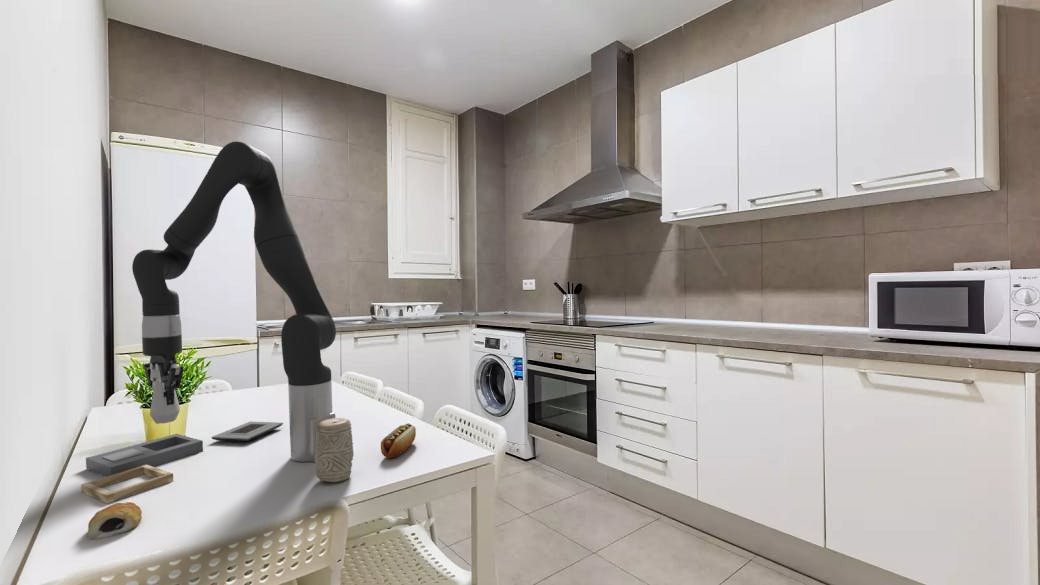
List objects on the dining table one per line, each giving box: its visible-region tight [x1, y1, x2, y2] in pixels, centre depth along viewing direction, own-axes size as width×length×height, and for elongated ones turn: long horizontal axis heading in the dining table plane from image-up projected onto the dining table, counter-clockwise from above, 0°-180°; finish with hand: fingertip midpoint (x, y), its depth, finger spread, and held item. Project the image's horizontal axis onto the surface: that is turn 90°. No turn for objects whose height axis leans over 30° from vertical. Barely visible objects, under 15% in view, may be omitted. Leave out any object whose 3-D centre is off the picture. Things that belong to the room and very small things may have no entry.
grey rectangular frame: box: [85, 433, 204, 477], centre depth 110 cm, size 12×18×3 cm, turn 151°
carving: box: [314, 417, 355, 483], centre depth 97 cm, size 6×8×12 cm
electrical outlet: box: [211, 421, 284, 442], centre depth 126 cm, size 13×10×2 cm
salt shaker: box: [149, 368, 181, 425], centre depth 113 cm, size 6×6×13 cm
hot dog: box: [380, 423, 417, 459], centre depth 112 cm, size 5×13×5 cm, turn 171°
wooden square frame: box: [80, 465, 174, 504], centre depth 96 cm, size 11×11×2 cm
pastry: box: [85, 501, 143, 541], centre depth 80 cm, size 9×7×4 cm
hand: (164, 405), depth 113 cm, fingers closed on salt shaker, 3 cm apart
